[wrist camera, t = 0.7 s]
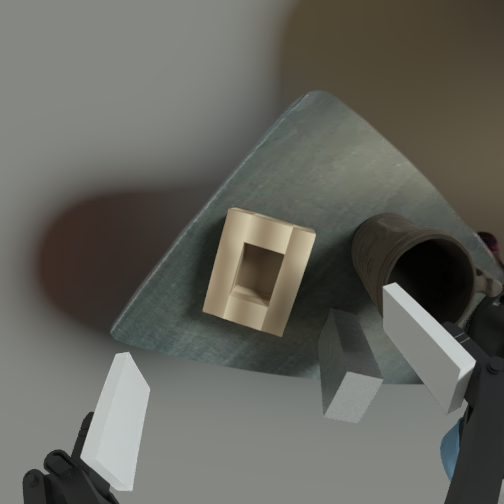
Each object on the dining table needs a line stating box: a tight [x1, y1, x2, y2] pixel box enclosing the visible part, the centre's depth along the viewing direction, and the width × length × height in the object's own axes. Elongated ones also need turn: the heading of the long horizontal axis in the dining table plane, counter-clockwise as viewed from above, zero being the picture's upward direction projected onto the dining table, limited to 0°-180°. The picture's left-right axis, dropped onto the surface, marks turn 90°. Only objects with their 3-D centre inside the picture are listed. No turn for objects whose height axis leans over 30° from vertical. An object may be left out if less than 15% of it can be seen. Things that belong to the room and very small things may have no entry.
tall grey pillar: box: [317, 307, 384, 423], centre depth 36 cm, size 4×6×18 cm, turn 164°
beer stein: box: [351, 213, 502, 326], centre depth 32 cm, size 15×11×20 cm
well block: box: [203, 207, 316, 337], centre depth 42 cm, size 11×14×6 cm
